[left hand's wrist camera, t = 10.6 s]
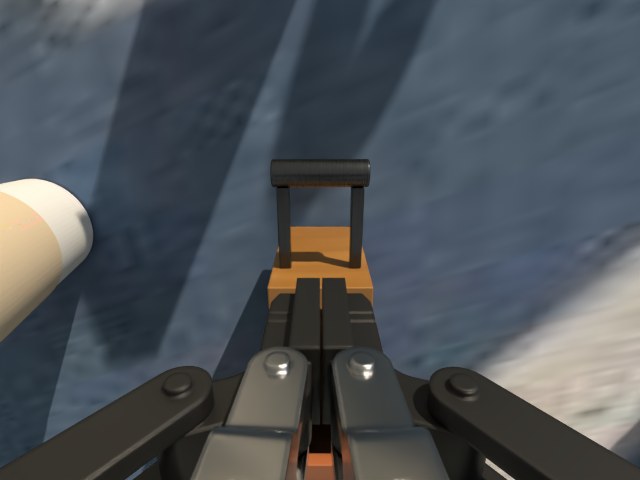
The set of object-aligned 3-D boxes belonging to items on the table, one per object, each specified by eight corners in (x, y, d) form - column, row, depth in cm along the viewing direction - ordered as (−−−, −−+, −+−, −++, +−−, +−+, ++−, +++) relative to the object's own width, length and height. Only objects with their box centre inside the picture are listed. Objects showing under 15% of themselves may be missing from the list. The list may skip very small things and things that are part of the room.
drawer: (279, 141, 24) (260, 168, 16) (360, 141, 24) (380, 169, 16) (290, 413, 32) (280, 521, 24) (350, 413, 32) (360, 521, 24)
